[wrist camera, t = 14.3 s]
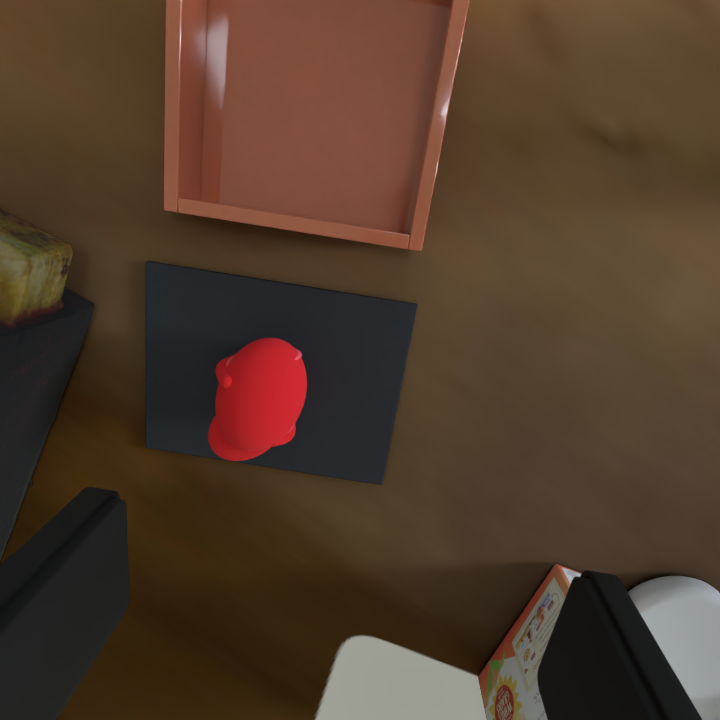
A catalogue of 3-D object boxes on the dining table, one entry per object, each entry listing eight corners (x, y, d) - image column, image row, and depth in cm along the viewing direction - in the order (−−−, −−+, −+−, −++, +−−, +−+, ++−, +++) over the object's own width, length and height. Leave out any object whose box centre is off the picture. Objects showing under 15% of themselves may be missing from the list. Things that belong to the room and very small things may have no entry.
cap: (239, 314, 31) (207, 340, 26) (324, 341, 32) (311, 372, 26) (215, 416, 34) (181, 460, 28) (294, 440, 34) (276, 488, 28)
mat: (416, 303, 31) (417, 304, 30) (381, 482, 35) (381, 485, 35) (148, 260, 31) (145, 261, 30) (148, 445, 35) (145, 447, 35)
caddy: (468, -32, 25) (483, -72, 21) (416, 245, 30) (421, 251, 26) (198, -76, 25) (166, -124, 21) (190, 209, 30) (163, 210, 26)
